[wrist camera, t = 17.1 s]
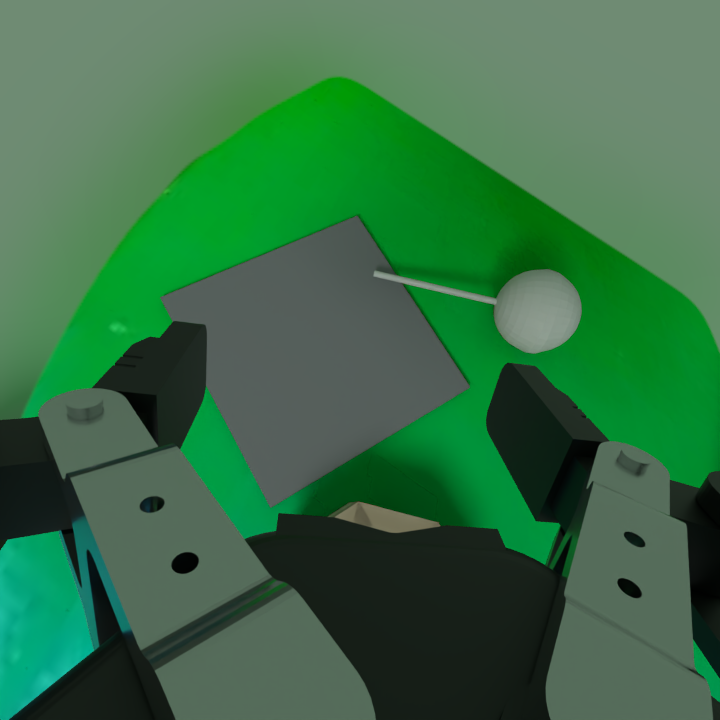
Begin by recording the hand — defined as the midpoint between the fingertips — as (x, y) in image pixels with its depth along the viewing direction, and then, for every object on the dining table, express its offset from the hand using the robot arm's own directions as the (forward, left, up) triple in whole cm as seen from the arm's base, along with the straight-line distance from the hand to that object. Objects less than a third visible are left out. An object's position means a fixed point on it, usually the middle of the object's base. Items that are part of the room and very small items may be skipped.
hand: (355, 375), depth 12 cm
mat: (-4, -7, -19) cm, 20 cm away
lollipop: (-10, -9, -18) cm, 22 cm away
